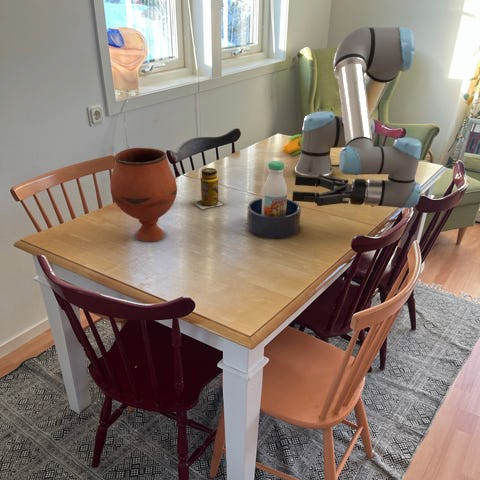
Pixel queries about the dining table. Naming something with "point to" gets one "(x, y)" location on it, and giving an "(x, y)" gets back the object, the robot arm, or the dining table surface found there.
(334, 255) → the dining table surface
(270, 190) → the milk bottle
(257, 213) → the pot
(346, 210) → the dining table surface
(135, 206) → the goblet
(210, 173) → the condiment
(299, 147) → the corn
